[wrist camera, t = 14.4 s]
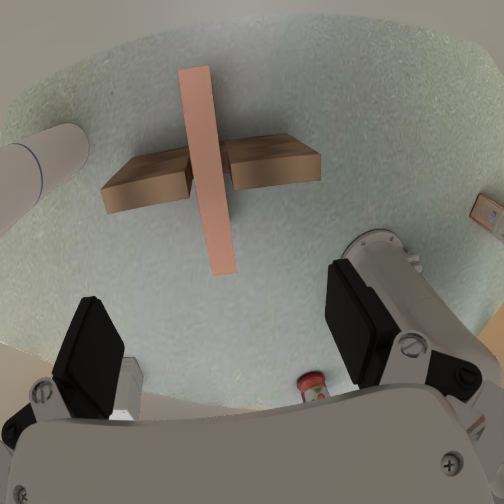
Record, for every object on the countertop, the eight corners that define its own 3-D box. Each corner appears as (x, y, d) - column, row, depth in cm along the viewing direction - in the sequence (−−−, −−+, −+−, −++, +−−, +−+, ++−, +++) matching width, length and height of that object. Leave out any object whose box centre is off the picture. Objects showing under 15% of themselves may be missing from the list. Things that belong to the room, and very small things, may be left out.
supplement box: (103, 356, 51) (91, 407, 41) (135, 357, 52) (128, 410, 42) (113, 376, 55) (105, 424, 45) (144, 377, 56) (139, 427, 46)
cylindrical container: (96, 161, 33) (-22, 272, 12) (57, 181, 33) (-57, 294, 12) (78, 114, 29) (-68, 174, 8) (39, 137, 29) (-96, 217, 8)
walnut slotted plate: (287, 133, 35) (320, 154, 24) (288, 152, 36) (320, 180, 26) (131, 158, 33) (100, 189, 23) (135, 176, 35) (107, 214, 25)
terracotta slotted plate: (188, 77, 29) (177, 70, 19) (209, 74, 29) (208, 64, 19) (211, 224, 40) (213, 276, 30) (229, 221, 40) (237, 272, 30)
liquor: (292, 388, 65) (320, 491, 42) (297, 371, 61) (330, 484, 38) (320, 384, 66) (352, 482, 43) (327, 367, 62) (366, 473, 39)
